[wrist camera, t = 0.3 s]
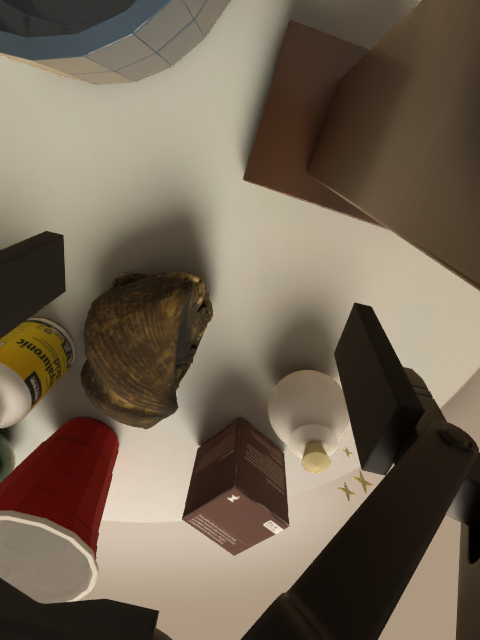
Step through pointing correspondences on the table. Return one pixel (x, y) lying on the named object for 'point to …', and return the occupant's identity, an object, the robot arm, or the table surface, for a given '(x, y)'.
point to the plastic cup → (57, 512)
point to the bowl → (104, 35)
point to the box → (238, 489)
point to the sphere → (6, 458)
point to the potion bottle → (310, 418)
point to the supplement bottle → (31, 366)
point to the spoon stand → (383, 129)
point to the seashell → (143, 344)
